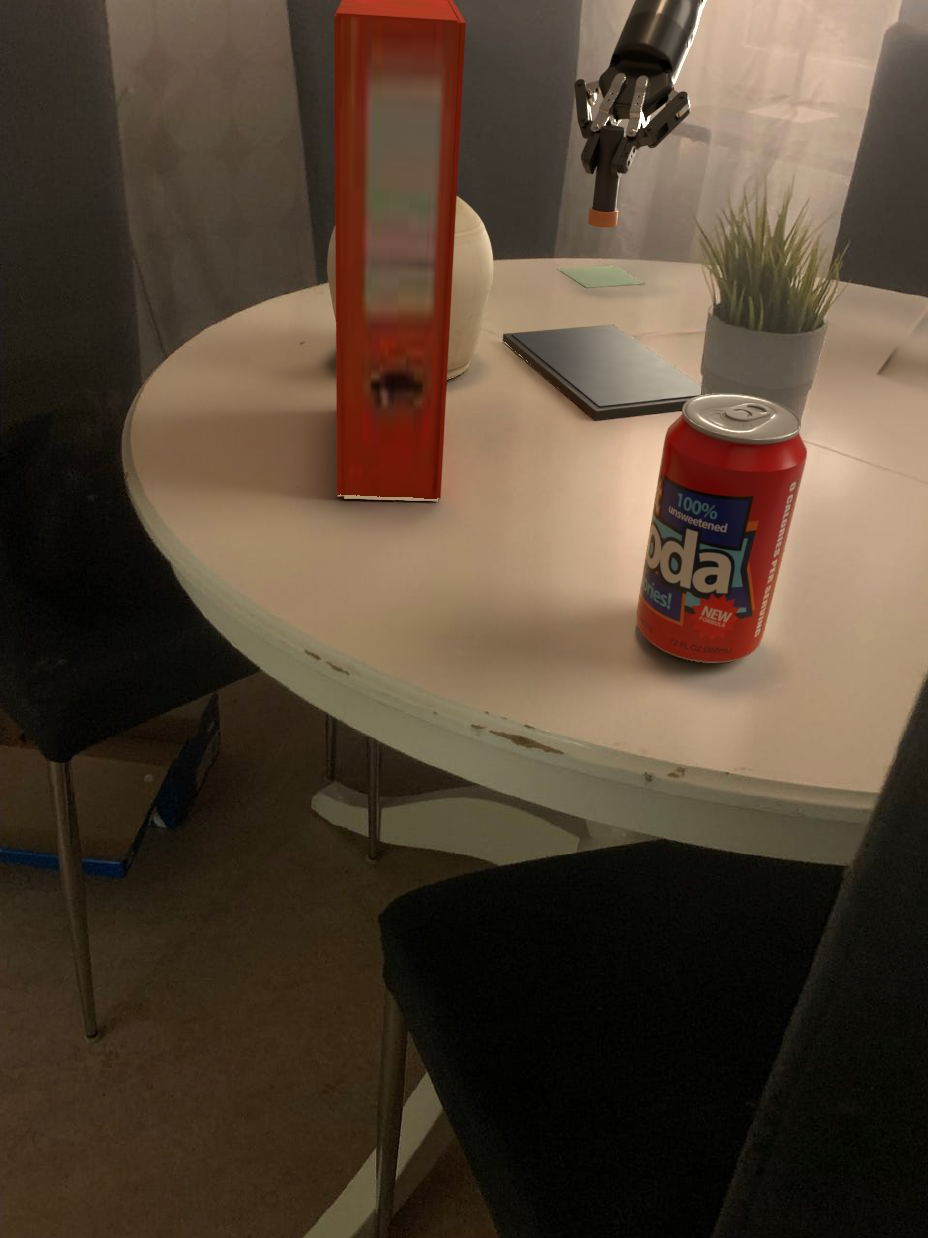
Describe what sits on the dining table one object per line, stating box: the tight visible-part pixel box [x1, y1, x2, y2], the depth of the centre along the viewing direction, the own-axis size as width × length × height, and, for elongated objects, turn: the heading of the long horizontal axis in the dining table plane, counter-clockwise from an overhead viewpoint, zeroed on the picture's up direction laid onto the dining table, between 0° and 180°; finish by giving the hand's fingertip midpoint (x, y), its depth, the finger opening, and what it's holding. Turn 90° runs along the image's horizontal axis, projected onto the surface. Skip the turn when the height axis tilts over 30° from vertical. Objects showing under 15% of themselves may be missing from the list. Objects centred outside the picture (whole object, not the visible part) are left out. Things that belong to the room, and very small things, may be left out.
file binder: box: [333, 0, 467, 499], centre depth 79 cm, size 8×17×32 cm, turn 3°
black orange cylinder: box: [587, 125, 626, 229], centre depth 118 cm, size 3×3×10 cm
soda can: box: [636, 392, 808, 664], centre depth 64 cm, size 8×8×15 cm
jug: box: [326, 195, 494, 379], centre depth 99 cm, size 15×16×25 cm
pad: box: [557, 264, 646, 289], centre depth 132 cm, size 8×8×1 cm
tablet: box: [502, 324, 702, 421], centre depth 106 cm, size 13×21×1 cm, turn 21°
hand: (601, 170), depth 116 cm, fingers closed on black orange cylinder, 2 cm apart
